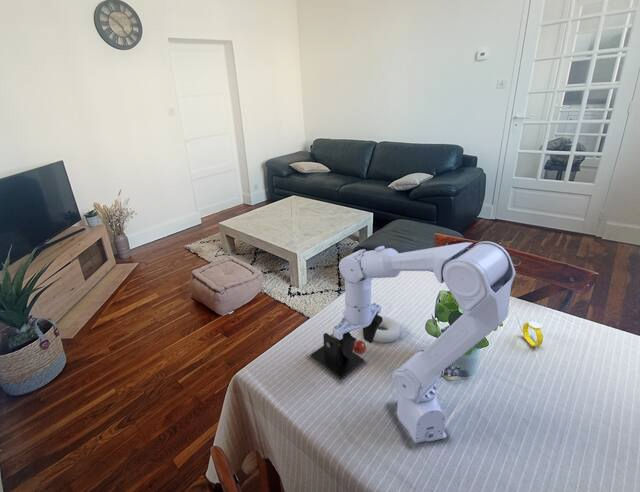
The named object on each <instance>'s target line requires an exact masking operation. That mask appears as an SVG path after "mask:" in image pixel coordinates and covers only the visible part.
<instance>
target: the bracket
mask: <svg viewBox="0 0 640 492" xmlns="http://www.w3.org/2000/svg"><path fill="white" fill-rule="evenodd" d="M336 327H337V325H336V326H334V327H333V329H334V328H336ZM330 335H331V334H328V333H327V332H324V333H323V334H322V336H323V337H322V338H323V346H321V347H319V348H318V349H316V350H315V351H313V352H312V353H311V354H310V357H311V358H312V359H314V360H315V361H316V362H317V363H318V364H320V365H321V366H322V367H323V368H325V369H326V370H327V371H328V372H330V373H331V374H332V375H333V376H335V377H336V378H337V379H339V381H341V380H343V379H344V378H345V377H346V376H348V375H349V374H351V372H353V371H354V370H356V369H357V368H358V367H360V366H361V365H362V364H364V362H365V359H363V358H362V357H361V356H359V354H357V353H355V352H353V355H352V358H351V359H348V358H347V357H346V356H344V355H343V352H342V349H341V346H339V347H338V341H337V340H336V339H335V338H333V337H332V336H330Z"/></svg>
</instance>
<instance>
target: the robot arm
mask: <svg viewBox="0 0 640 492" xmlns="http://www.w3.org/2000/svg"><path fill="white" fill-rule="evenodd" d="M471 245H472V247H470V246H471ZM338 268H339V272H340V275H341V276H342V278H343V279H344V298H345V299H344V302H345V305H344V306H345V309H344V310H342V315H343V317H342V319H341V320H340V321H339V322H338V324H337V325H336V326H337V327H336V328H334V327H333V329H332V334H333V335H334V337H336V339H337V340H338V342H339V344H340V346H341V349H342V352H343V355H344V356H346V357H347V358H348V359H351V358H352V355H353V353H354V350H353V346H354V343H355V341H357V340H358V339H357V338H356V337H354V336H353V335H352V333H351V332H354V331H357V330H360V329H362V337H363V340H364V341H365V342H368V343H369V344H372V343H373V342H374V340H373V339H374V336H375V333H376V331H377V329H379V328H380V327H379V325H380V324H381V323H382V321H383V318H382V317H381V316H382V315H380V313H381V312H382V305H380V304H379V303H377V302H373V303H372V280H373V279H387V278H392V279H393V278H397V277H398V276H399V275H400V273H401V272H433V274H434V276H435V278H436V279H437V281H438V283H440V284H443V283H445V286H446V288H447V289H448V291H449V292H450V293H451V295H452V296H453V298H454V300H455V301H456V303H457V304H458V306H459V307H460V309H461V310H462V312H463V313H462V314H461V315H460V316H459V317H458V318H457V319H456V320H455V321H453V323H452V324H451V325H450V326H448V327H447V328H446V330H444V331H443V332H442V333H441V334H439V336H438V337H437V338H436V339H435V340H434V341H433V342H431V343H430V345H428V346H427V347H426V348H420V349H418V350H417V351H416V352H415V353H414V354H413V355H412V356H411V357H410V358H409V359H407V360H406V361H405V362H403V364H402V365H401V366H400V367H398V368H396V369H394V370H393V372H392V373H391V380H392V384H393V386H394V388H395V389H396V391H397V406H396V407H397V408H396V415H397V418H398V420H399V422H400V423H401V425H402V426H403V427H404V429H406V430H407V433H409V435H410V438H411V439H412V441H413V442H414V444H418V443H423V442H427V443H430V442H434V441H437V440H443V439H446V438H447V433H446V432H445V430H444V427H445V422H446V421H445V418H446V415H445V413H444V411H443V410H442V408H441V406H440V404H439V401H438V398H437V384H438V380H439V379H441V378H442V377H443V374H444V370H445V369H446V368H447V367H448V366H450V365H453V364H452V363H453V362H456V361H457V360H458V359H460V358H461V357H463V356H464V355H465V354H466V353H467V352H468V351H470V350H471V349H472V348H473V347H475V346H476V345H477V344H478V343H479V342H481V341H482V340H484V338H486V337H487V336H489V335H490V334H491V333H492V332H494V331H495V330H496V329H497V328H499V326H501V324H502V323H503V322H504V321H505V320H506V319H507V317H508V315H509V310H510V309H509V308H510V307H509V306H510V301H511V291H512V290H511V289H512V284H513V282H514V279H515V276H516V273H517V272H516V269H515V267H514V263H513V261H512V258H511V256H510V254H509V252H508V251H507V250H506V249H505V248H504V247H503V246H502V245H500V244H498V243H496V242H493V241H487V240H486V241H485V240H484V241H479V242H477V243H475V244H474V245H473V242H468V241H467V242H465V241H464V242H460V243H454V244H447V245H441V246H436V247H429V248H424V249H416V250H412V251H405V252H398V251H397V250H396V249H395V248H391V247H389V248H388V247H387V248H386V247H385V245H381V246H380V245H379V246H377V247H375V248H374V250H372V249H371V250H366V249H365V248H364V249H359V250H357V251H355V252H352V253H351V254H348V255H347V256H345V257H343V258H341V259H340V261H339V262H338ZM378 327H379V328H378Z"/></svg>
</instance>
